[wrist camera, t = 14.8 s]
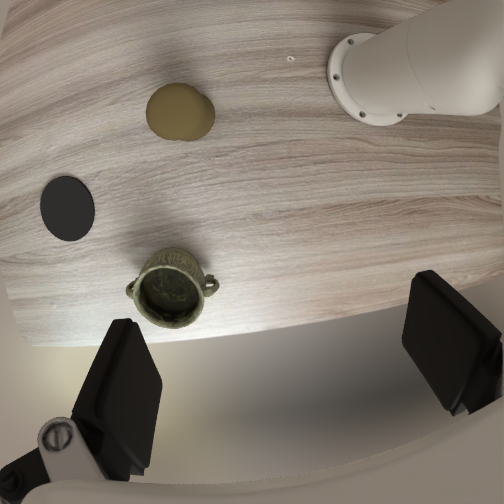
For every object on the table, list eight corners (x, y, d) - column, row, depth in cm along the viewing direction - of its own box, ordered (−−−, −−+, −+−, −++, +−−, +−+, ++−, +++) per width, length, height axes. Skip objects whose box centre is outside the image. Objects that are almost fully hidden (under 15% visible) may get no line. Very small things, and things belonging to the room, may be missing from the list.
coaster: (85, 168, 33) (84, 168, 32) (102, 233, 36) (101, 234, 36) (35, 186, 33) (33, 186, 32) (52, 245, 36) (51, 246, 36)
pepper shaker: (164, 92, 30) (137, 77, 20) (216, 91, 31) (211, 73, 21) (163, 142, 33) (136, 147, 22) (214, 141, 33) (208, 145, 23)
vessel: (139, 303, 41) (128, 329, 35) (127, 246, 37) (111, 266, 31) (222, 300, 41) (221, 328, 36) (217, 240, 38) (216, 261, 32)
